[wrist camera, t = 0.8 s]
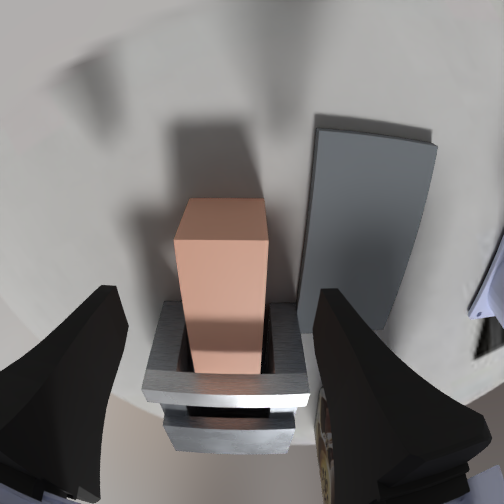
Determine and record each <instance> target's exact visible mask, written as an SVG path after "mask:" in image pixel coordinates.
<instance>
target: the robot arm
mask: <svg viewBox="0 0 504 504" xmlns="http://www.w3.org/2000/svg"><path fill="white" fill-rule="evenodd" d="M491 316H496V318H497V319H498V321H499V322H500V324H501V325H502V327H503V328H504V235H503V238H502V240H501V243H500V246H499V248H498V251H497V253H496V255H495V258H494V260H493V262H492V265H491V267H490V269H489V271H488V274H487V276H486V278H485V280H484V282H483V284H482V286H481V289H480V291H479V293H478V295H477V297H476V299H475V301H474V303H473V305H472V306H471V308H470V310H469V312H468V317H469V318H470V319H478V318H485V317H491ZM128 327H129V325H128V322H127V319H126V316H125V313H124V310H123V307H122V304H121V300H120V297H119V294H118V291H117V287H116V286H110V285H101V286H100V287H99V288H98V289H96V290H95V291H94V292H93V293H92V294H91V295H90V296H89V297H88V298H87V299H86V300H85V301H84V302H83V303H82V304H81V305H80V306H79V307H78V308H77V309H76V310H75V311H74V312H73V313H72V314H71V315H69V316H68V317H67V318H66V319H65V320H64V321H63V322H62V323H61V324H60V325H59V326H58V327H57V328H56V329H55V330H53V331H52V332H51V333H50V334H49V335H48V336H47V337H46V338H45V339H44V340H42V341H41V342H40V343H39V344H38V345H37V346H35V347H34V348H33V349H32V350H30V351H29V352H28V353H26V354H25V355H24V356H23V357H21V358H20V359H18V360H17V361H15V362H14V363H12V364H11V365H9V366H8V367H6V368H5V369H4V370H2V371H0V504H80V503H77V502H74V501H70V500H68V499H67V497H68V498H71V499H74V500H76V499H79V500H82V501H86V502H89V503H96V502H98V501H99V500H100V499H101V498H100V455H101V443H102V433H103V426H104V419H105V413H106V407H107V403H108V399H109V396H110V393H111V389H112V386H113V383H114V380H115V377H116V373H117V370H118V367H119V364H120V361H121V358H122V355H123V351H124V347H125V342H126V337H127V332H128ZM312 331H313V340H314V348H315V355H316V359H317V364H318V368H319V372H320V376H321V380H322V384H323V388H324V393H325V397H326V401H327V405H328V411H329V416H330V425H331V434H332V446H333V459H334V485H335V504H504V479H503V476H502V473H501V469H500V466H499V465H496V466H494V467H492V468H490V469H487V470H486V471H483V472H481V473H480V474H477V475H475V476H473V477H471V478H469V479H467V478H466V474H465V473H467V472H468V471H469V466H468V463H467V462H468V461H469V460H470V459H472V458H473V457H475V456H476V455H477V454H479V453H480V452H481V451H482V450H484V449H485V448H486V447H487V446H488V445H489V444H490V442H491V440H492V436H491V434H490V431H489V429H488V426H487V424H486V421H485V419H484V417H483V415H481V414H479V413H477V412H476V411H474V410H472V409H470V408H468V407H466V406H464V405H462V404H460V403H459V402H457V401H455V400H454V399H452V398H450V397H449V396H447V395H446V394H444V393H443V392H441V391H440V390H438V389H437V388H435V387H434V386H432V385H431V384H430V383H428V382H427V381H426V380H424V379H423V378H422V377H421V376H419V375H418V374H417V373H416V372H414V371H413V370H412V369H411V368H410V367H408V366H407V365H406V364H405V363H404V362H403V361H402V360H401V359H400V358H398V357H397V356H396V355H395V354H394V353H393V352H392V351H391V350H390V349H389V348H388V347H387V346H386V345H385V344H384V343H383V342H382V341H381V339H380V338H379V337H378V336H377V335H376V334H375V333H374V332H373V330H372V329H371V328H370V327H369V326H368V325H367V323H366V322H365V321H364V320H363V319H362V318H361V316H360V315H359V314H358V313H357V311H356V310H355V309H354V308H353V306H352V305H351V304H350V303H349V301H348V300H347V299H346V298H345V296H344V295H343V294H342V293H341V292H340V290H339V289H338V288H321V290H320V295H319V300H318V305H317V310H316V315H315V319H314V324H313V329H312Z"/></svg>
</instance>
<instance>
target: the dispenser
mask: <svg viewBox="0 0 504 504" xmlns="http://www.w3.org/2000/svg"><path fill="white" fill-rule="evenodd" d="M141 390H142V392H143V394H144V396H145V398H146V400H147V402H154V403H160V405H161V407H162V409H163V412H164V414H165V415H164V421H163V426H164V429H165V431H166V432H167V435H168V436H169V438H170V440H171V442H172V444H173V446H174V448H175V450H176V451H186V452H199V453H216V454H281V453H287V452H288V449H289V446H290V443H291V441H292V438H293V435H294V432H295V419H294V417H295V413H296V410H297V407H298V406H306V404H307V401H308V398H309V395H310V391H309V384H308V377H307V371H306V364H305V358H304V352H303V346H302V339H301V333H300V327H299V321H298V315H297V309H296V303H270V307H269V320H268V332H267V344H266V356H265V368H264V374H214V373H195V370H194V365H193V359H192V354H191V349H190V344H189V338H188V332H187V327H186V321H185V315H184V309H183V303H182V302H173V301H164V304H163V307H162V311H161V315H160V318H159V322H158V325H157V329H156V333H155V337H154V340H153V344H152V348H151V352H150V356H149V360H148V364H147V368H146V372H145V376H144V380H143V384H142V389H141Z"/></svg>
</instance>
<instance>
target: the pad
mask: <svg viewBox="0 0 504 504" xmlns="http://www.w3.org/2000/svg"><path fill="white" fill-rule="evenodd" d="M437 149H438V146H436V145H434V144H433V143H429V142H423V141H418V140H412V139H406V138H400V137H393V136H386V135H379V134H372V133H364V132H355V131H346V130H336V129H324V128H316V139H315V150H314V161H313V171H312V181H311V191H310V200H309V209H308V218H307V227H306V235H305V243H304V251H303V259H302V266H301V273H300V281H299V288H298V295H297V302H296V309H297V315H298V321H299V327H300V333H313V331H312V329H313V324H314V319H315V315H316V310H317V305H318V300H319V295H320V290H321V288H338V289H339V290H340V292H341V293H342V294H343V295H344V296H345V298H346V299H347V300H348V301H349V303H350V304H351V305H352V306H353V308H354V309H355V310H356V311H357V313H358V314H359V315H360V316H361V318H362V319H363V320H364V321H365V322H366V323H367V325H368V326H369V327H370V328H371V329H372V330H380V329H383V328H384V326H385V323H386V321H387V318H388V316H389V313H390V311H391V308H392V306H393V303H394V301H395V298H396V295H397V293H398V290H399V287H400V284H401V281H402V279H403V276H404V273H405V270H406V267H407V264H408V261H409V258H410V255H411V252H412V248H413V245H414V242H415V239H416V235H417V232H418V229H419V225H420V222H421V218H422V214H423V211H424V207H425V203H426V199H427V195H428V191H429V187H430V182H431V178H432V174H433V169H434V164H435V160H436V155H437Z"/></svg>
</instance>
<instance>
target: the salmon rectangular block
mask: <svg viewBox="0 0 504 504" xmlns="http://www.w3.org/2000/svg"><path fill="white" fill-rule="evenodd" d="M268 243H269V240H268V230H267V221H266V212H265V203H264V198H189V201H188V203H187V206H186V209H185V211H184V214H183V216H182V219H181V221H180V224H179V227H178V229H177V232H176V235H175V237H174V247H175V255H176V262H177V269H178V276H179V283H180V290H181V296H182V303H183V309H184V315H185V321H186V327H187V332H188V338H189V344H190V349H191V354H192V359H193V365H194V370H195V373H214V374H260V368H261V354H262V339H263V324H264V309H265V293H266V277H267V260H268Z"/></svg>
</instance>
